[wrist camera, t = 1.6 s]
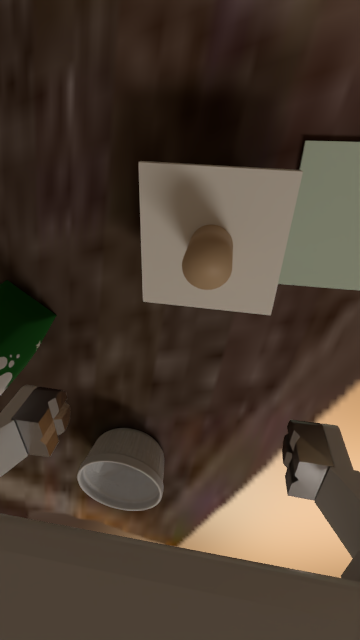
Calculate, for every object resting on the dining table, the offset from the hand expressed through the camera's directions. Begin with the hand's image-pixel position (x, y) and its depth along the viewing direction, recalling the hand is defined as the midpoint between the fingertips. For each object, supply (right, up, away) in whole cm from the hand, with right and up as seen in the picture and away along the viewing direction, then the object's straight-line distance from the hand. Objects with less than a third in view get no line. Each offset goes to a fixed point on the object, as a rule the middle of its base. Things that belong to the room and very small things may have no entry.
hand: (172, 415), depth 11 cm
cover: (+3, +10, +15) cm, 19 cm away
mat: (+16, +12, +18) cm, 27 cm away
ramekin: (-8, -18, +42) cm, 46 cm away
